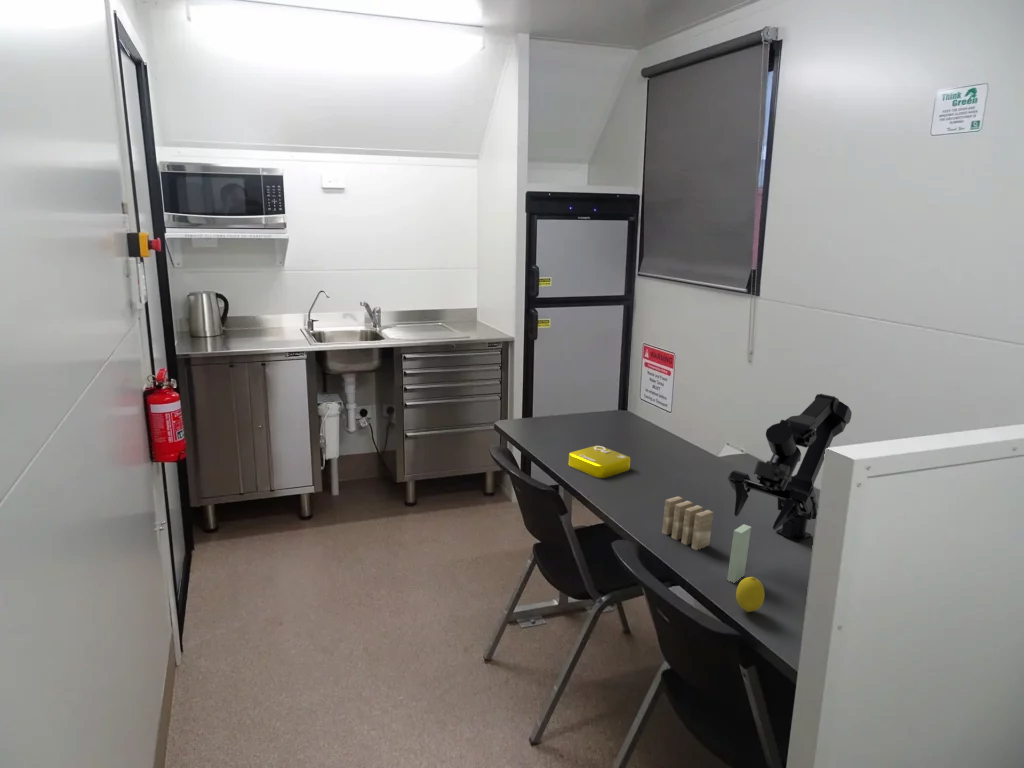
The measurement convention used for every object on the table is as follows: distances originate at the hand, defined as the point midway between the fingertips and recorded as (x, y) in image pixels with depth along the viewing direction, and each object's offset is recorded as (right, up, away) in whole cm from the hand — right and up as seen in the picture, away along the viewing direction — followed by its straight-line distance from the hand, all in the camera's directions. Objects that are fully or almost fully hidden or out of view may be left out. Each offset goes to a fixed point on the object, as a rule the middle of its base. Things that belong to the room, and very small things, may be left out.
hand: (754, 522), depth 161 cm
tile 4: (-15, -6, +21) cm, 26 cm away
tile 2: (-11, -8, +16) cm, 21 cm away
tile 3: (-13, -7, +18) cm, 23 cm away
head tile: (-5, -13, -1) cm, 13 cm away
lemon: (-6, -16, -14) cm, 22 cm away
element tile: (-28, +5, +64) cm, 70 cm away
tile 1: (-9, -9, +13) cm, 18 cm away
